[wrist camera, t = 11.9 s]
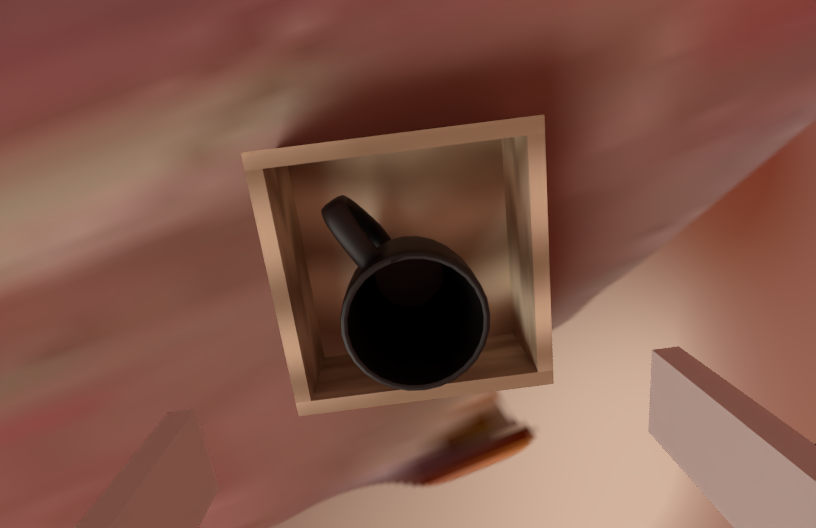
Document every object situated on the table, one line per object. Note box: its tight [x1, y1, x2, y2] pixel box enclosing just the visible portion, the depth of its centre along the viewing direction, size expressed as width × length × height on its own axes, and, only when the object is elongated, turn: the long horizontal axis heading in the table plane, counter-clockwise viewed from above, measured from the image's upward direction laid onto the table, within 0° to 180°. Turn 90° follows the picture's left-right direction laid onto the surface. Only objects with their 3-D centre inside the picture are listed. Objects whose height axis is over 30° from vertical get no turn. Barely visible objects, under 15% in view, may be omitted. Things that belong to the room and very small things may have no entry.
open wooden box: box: [241, 115, 553, 416], centre depth 30 cm, size 17×17×7 cm
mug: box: [321, 195, 490, 391], centre depth 27 cm, size 8×12×10 cm
